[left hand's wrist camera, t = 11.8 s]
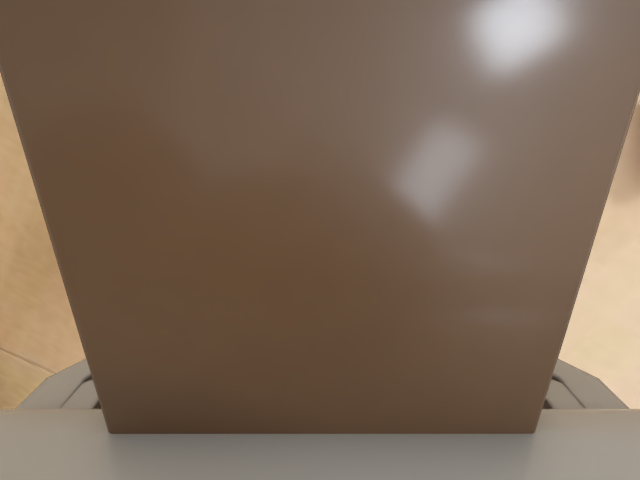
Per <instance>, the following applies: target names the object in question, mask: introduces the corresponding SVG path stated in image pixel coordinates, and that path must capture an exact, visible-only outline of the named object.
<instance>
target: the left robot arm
mask: <svg viewBox="0 0 640 480" xmlns="http://www.w3.org/2000/svg"><path fill="white" fill-rule="evenodd" d="M0 480H640V409H629V408H628V407H627V406H626V405H625V404H624V403H623V402H622V401H621V400H620V399H619V398H618V397H617V396H616V395H615V394H614V393H613V392H612V391H611V390H610V389H609V388H608V387H607V386H606V385H605V384H604V383H603V382H601V381H600V380H599V379H598V378H596V377H594V376H592V375H590V374H588V373H586V372H584V371H582V370H580V369H578V368H576V367H574V366H572V365H570V364H568V363H566V362H564V361H562V360H560V359H557V363H556V366H555V369H554V372H553V376H552V379H551V382H550V385H549V389H548V392H547V395H546V398H545V402H544V405H543V408H542V411H541V415H540V418H539V421H538V424H537V428H536V431H535V433H533V434H111V433H109V432H108V429H107V426H106V422H105V419H104V416H103V412H102V409H101V406H100V402H99V399H98V396H97V392H96V389H95V386H94V382H93V379H92V376H91V372H90V369H89V366H88V362H87V359H85V360H83V361H80V362H78V363H76V364H74V365H72V366H70V367H68V368H66V369H64V370H62V371H60V372H58V373H56V374H54V375H52V376H50V377H48V378H47V379H45V380H44V381H43V382H42V383H41V384H40V385H39V386H38V387H37V388H36V389H35V390H34V391H33V392H32V393H31V394H30V395H29V396H28V397H27V398H26V399H25V400H24V401H23V402H22V403H21V404H20V405H19V406H18V407H17V408H16V409H0Z"/></svg>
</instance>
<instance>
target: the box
mask: <svg viewBox="0 0 640 480" xmlns="http://www.w3.org/2000/svg"><path fill="white" fill-rule="evenodd" d="M0 72H1V76H2V79H3V82H4V86H5V89H6V92H7V96H8V99H9V102H10V106H11V109H12V112H13V116H14V119H15V122H16V126H17V129H18V132H19V136H20V139H21V142H22V146H23V149H24V152H25V156H26V159H27V162H28V166H29V169H30V172H31V176H32V179H33V182H34V186H35V189H36V192H37V196H38V199H39V202H40V206H41V209H42V212H43V216H44V219H45V222H46V226H47V229H48V232H49V236H50V239H51V242H52V246H53V249H54V252H55V256H56V259H57V262H58V266H59V269H60V272H61V276H62V279H63V282H64V286H65V289H66V292H67V296H68V299H69V302H70V306H71V309H72V312H73V316H74V319H75V322H76V326H77V329H78V332H79V336H80V339H81V342H82V346H83V349H84V352H85V356H86V359H87V362H88V366H89V369H90V372H91V376H92V379H93V382H94V386H95V389H96V392H97V396H98V399H99V402H100V406H101V409H102V412H103V416H104V419H105V422H106V426H107V429H108V432H109V433H111V434H533V433H535V431H536V428H537V424H538V421H539V418H540V415H541V411H542V408H543V405H544V402H545V398H546V395H547V392H548V389H549V385H550V382H551V379H552V376H553V372H554V369H555V366H556V363H557V359H558V356H559V353H560V350H561V346H562V343H563V340H564V337H565V333H566V330H567V327H568V323H569V320H570V317H571V314H572V310H573V307H574V304H575V301H576V297H577V294H578V291H579V288H580V284H581V281H582V278H583V275H584V271H585V268H586V265H587V262H588V258H589V255H590V252H591V249H592V245H593V242H594V239H595V236H596V232H597V229H598V226H599V223H600V219H601V216H602V213H603V210H604V206H605V203H606V200H607V197H608V193H609V190H610V187H611V184H612V180H613V177H614V174H615V171H616V167H617V164H618V161H619V158H620V154H621V151H622V148H623V145H624V141H625V138H626V135H627V132H628V128H629V125H630V122H631V119H632V115H633V112H634V109H635V106H636V102H637V99H638V96H639V93H640V0H0Z"/></svg>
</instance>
